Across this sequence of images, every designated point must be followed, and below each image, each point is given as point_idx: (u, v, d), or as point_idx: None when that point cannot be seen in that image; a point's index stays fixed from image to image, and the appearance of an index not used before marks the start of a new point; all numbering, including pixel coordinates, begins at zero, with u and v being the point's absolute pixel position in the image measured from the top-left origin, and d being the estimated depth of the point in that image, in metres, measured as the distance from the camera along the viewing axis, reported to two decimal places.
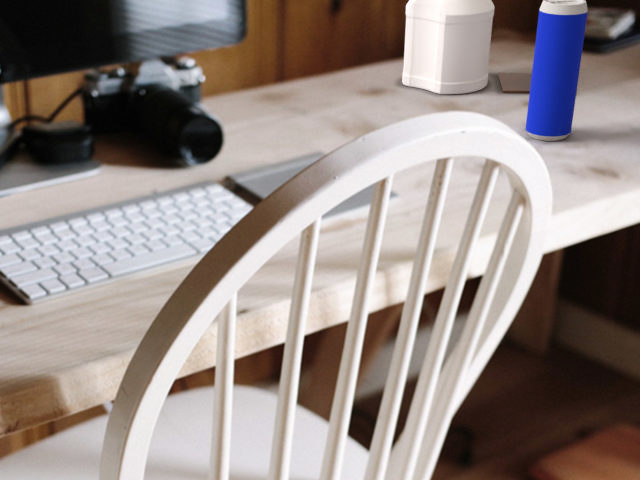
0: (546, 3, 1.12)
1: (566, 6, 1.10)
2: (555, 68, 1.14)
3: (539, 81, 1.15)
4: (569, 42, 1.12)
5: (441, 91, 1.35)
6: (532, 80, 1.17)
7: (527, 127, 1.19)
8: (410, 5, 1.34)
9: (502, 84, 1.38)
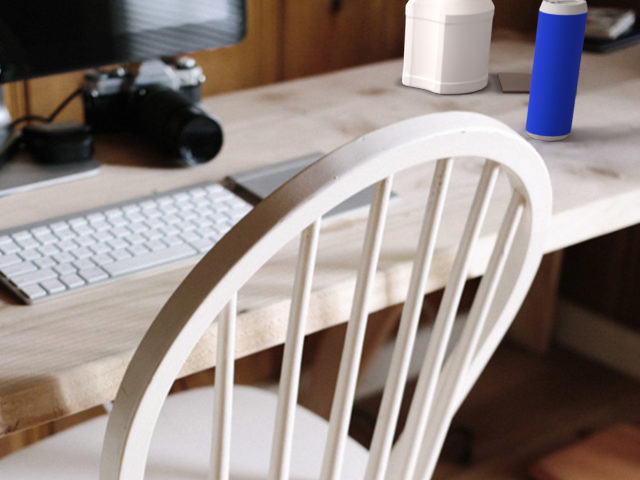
0: (546, 3, 1.12)
1: (566, 6, 1.10)
2: (555, 68, 1.14)
3: (539, 81, 1.15)
4: (569, 42, 1.12)
5: (441, 91, 1.35)
6: (532, 80, 1.17)
7: (527, 127, 1.19)
8: (410, 5, 1.34)
9: (502, 84, 1.38)
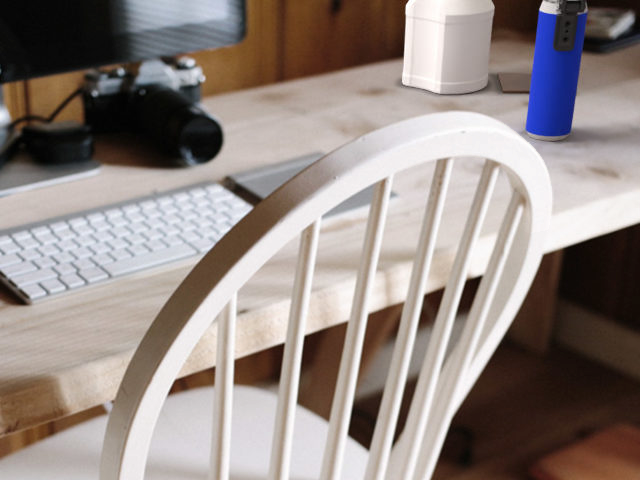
0: (546, 3, 1.12)
1: None
2: (555, 68, 1.14)
3: (539, 81, 1.15)
4: None
5: (441, 91, 1.35)
6: (532, 80, 1.17)
7: (527, 127, 1.19)
8: (410, 5, 1.34)
9: (502, 84, 1.38)
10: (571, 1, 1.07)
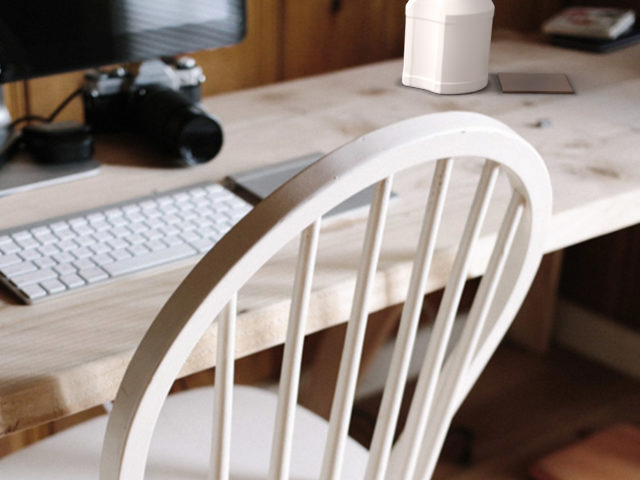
0: None
1: None
2: None
3: None
4: None
5: (441, 91, 1.35)
6: None
7: None
8: (410, 5, 1.34)
9: (502, 84, 1.38)
10: None
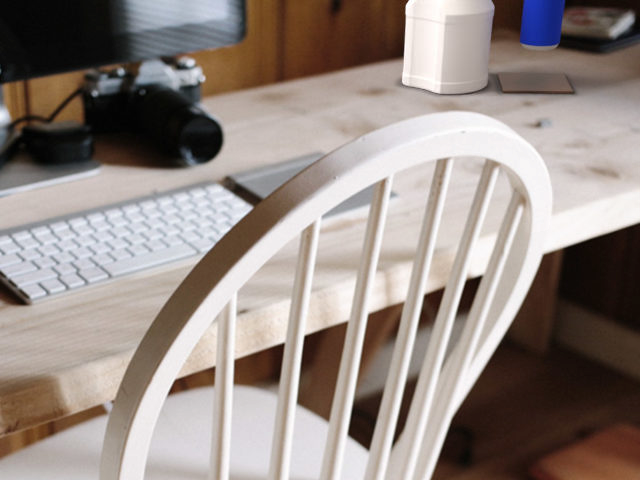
0: None
1: None
2: None
3: None
4: None
5: (441, 91, 1.35)
6: None
7: (521, 39, 1.36)
8: (410, 5, 1.34)
9: (502, 84, 1.38)
10: None
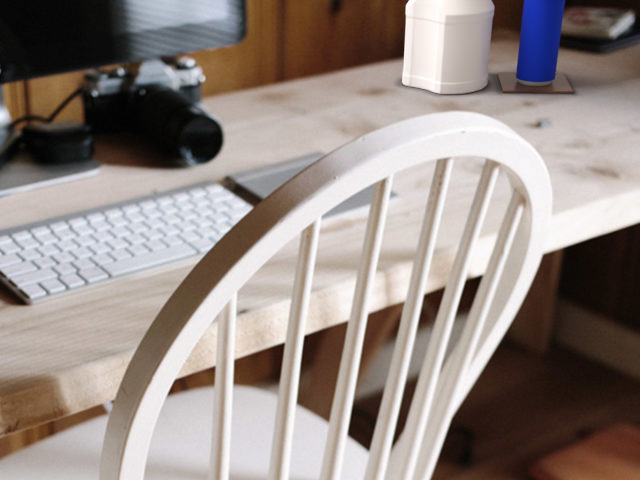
0: None
1: None
2: (541, 22, 1.32)
3: (527, 34, 1.34)
4: None
5: (441, 91, 1.35)
6: (521, 33, 1.35)
7: (517, 75, 1.38)
8: (410, 5, 1.34)
9: (502, 84, 1.38)
10: None
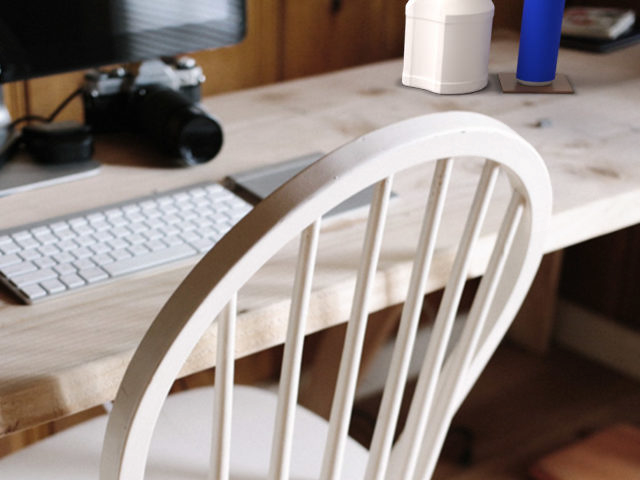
0: None
1: None
2: (541, 22, 1.32)
3: (527, 33, 1.34)
4: None
5: (441, 91, 1.35)
6: (521, 33, 1.35)
7: (517, 74, 1.38)
8: (410, 5, 1.34)
9: (502, 84, 1.38)
10: None
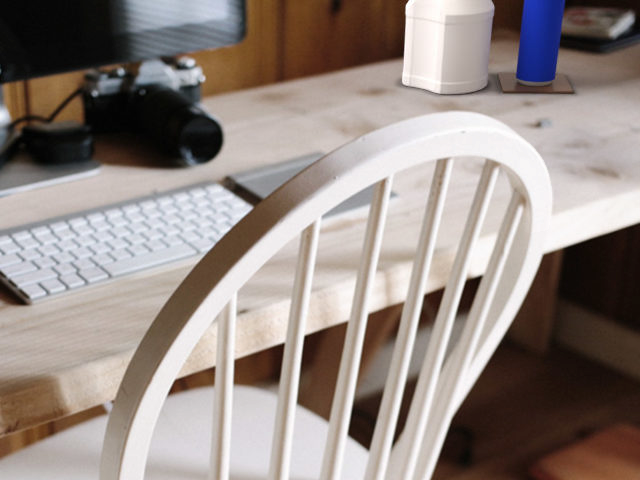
0: None
1: None
2: (541, 22, 1.32)
3: (527, 33, 1.34)
4: None
5: (441, 91, 1.35)
6: (521, 33, 1.35)
7: (517, 74, 1.38)
8: (410, 5, 1.34)
9: (502, 84, 1.38)
10: None
